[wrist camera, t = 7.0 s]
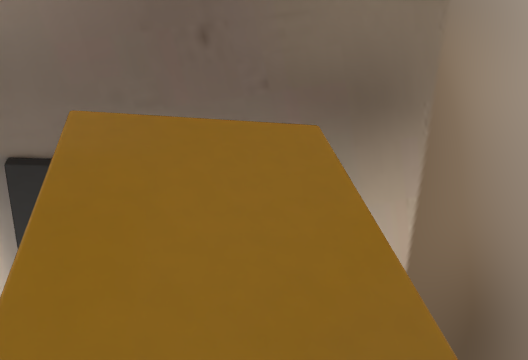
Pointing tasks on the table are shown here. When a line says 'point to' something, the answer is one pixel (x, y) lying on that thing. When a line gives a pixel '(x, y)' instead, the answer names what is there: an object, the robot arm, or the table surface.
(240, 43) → the table surface
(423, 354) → the block
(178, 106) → the table surface
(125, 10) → the table surface
